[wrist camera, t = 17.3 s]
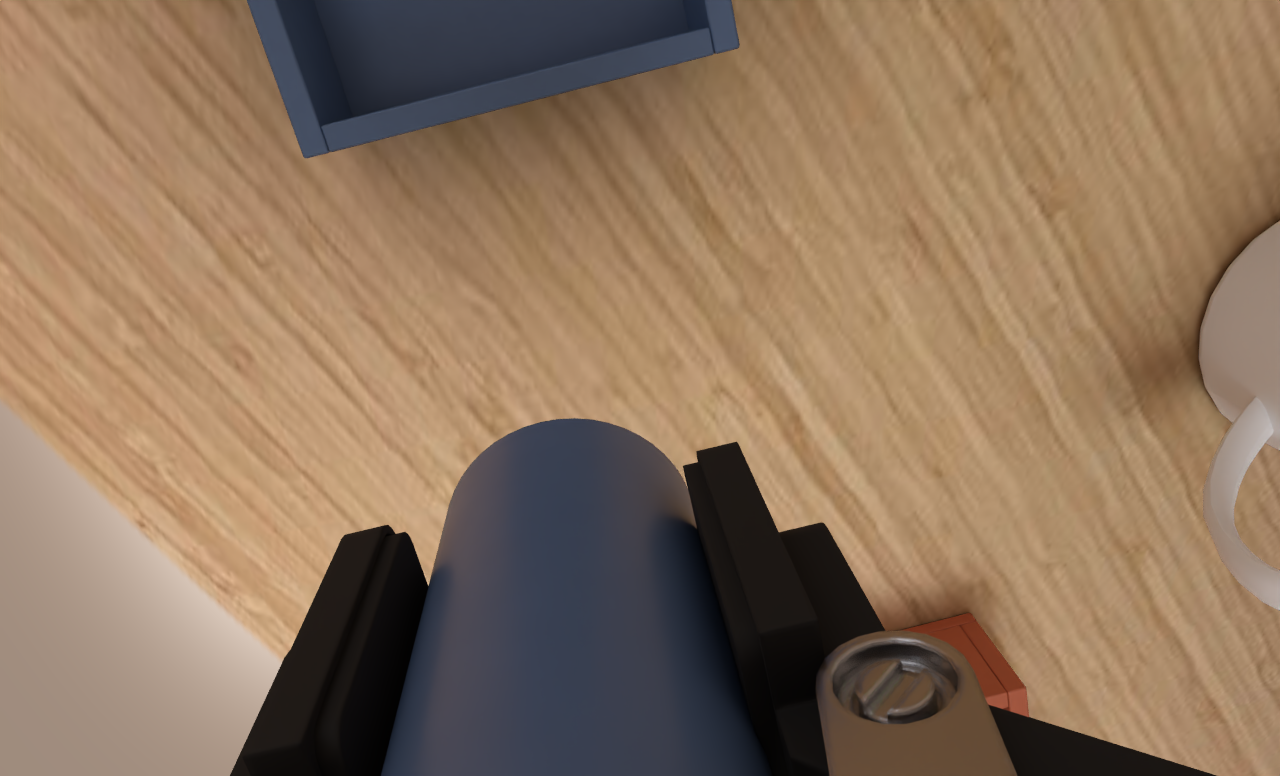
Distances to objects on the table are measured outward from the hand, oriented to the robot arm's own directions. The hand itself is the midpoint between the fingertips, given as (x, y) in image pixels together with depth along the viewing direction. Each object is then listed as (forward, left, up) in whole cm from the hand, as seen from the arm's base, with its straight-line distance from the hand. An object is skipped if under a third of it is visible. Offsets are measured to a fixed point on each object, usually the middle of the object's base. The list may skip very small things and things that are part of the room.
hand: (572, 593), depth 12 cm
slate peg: (0, 0, -2) cm, 2 cm away
